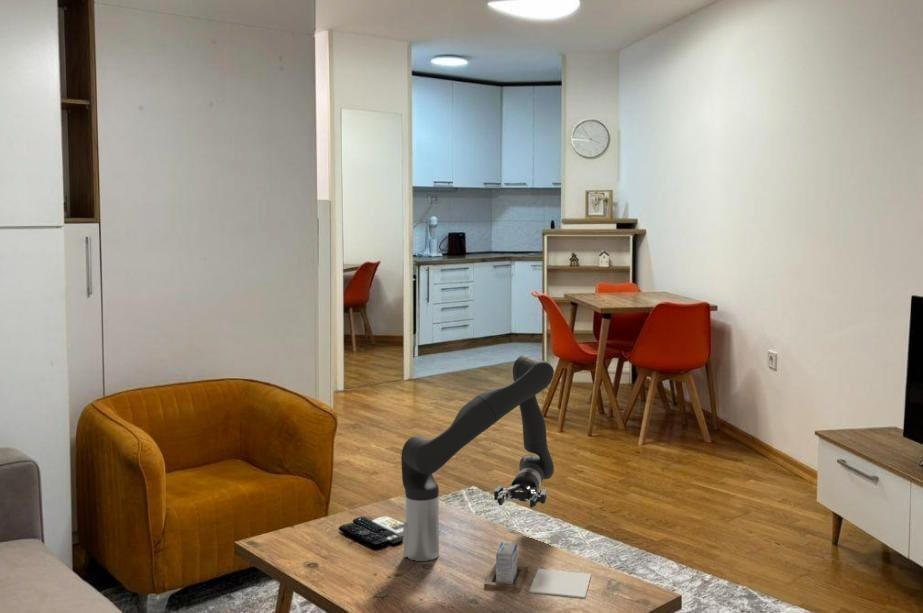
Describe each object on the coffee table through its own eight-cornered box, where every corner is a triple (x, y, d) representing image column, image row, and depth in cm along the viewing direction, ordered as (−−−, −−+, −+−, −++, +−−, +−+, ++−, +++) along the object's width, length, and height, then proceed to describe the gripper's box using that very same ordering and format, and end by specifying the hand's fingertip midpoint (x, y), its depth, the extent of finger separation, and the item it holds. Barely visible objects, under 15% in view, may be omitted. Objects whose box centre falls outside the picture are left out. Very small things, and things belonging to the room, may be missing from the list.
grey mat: (529, 592, 218) (529, 590, 218) (538, 570, 232) (538, 568, 232) (584, 598, 215) (585, 596, 215) (591, 575, 228) (591, 574, 228)
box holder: (484, 588, 221) (484, 583, 221) (495, 568, 233) (495, 563, 233) (519, 592, 219) (519, 587, 218) (528, 571, 231) (528, 567, 231)
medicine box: (513, 587, 222) (513, 554, 221) (495, 585, 222) (495, 553, 222) (517, 574, 229) (517, 542, 228) (500, 573, 230) (500, 541, 229)
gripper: (502, 470, 252) (489, 487, 236) (551, 473, 248) (541, 491, 233) (502, 495, 253) (490, 514, 237) (551, 498, 249) (541, 518, 233)
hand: (515, 503), depth 235 cm, fingers open, 8 cm apart
